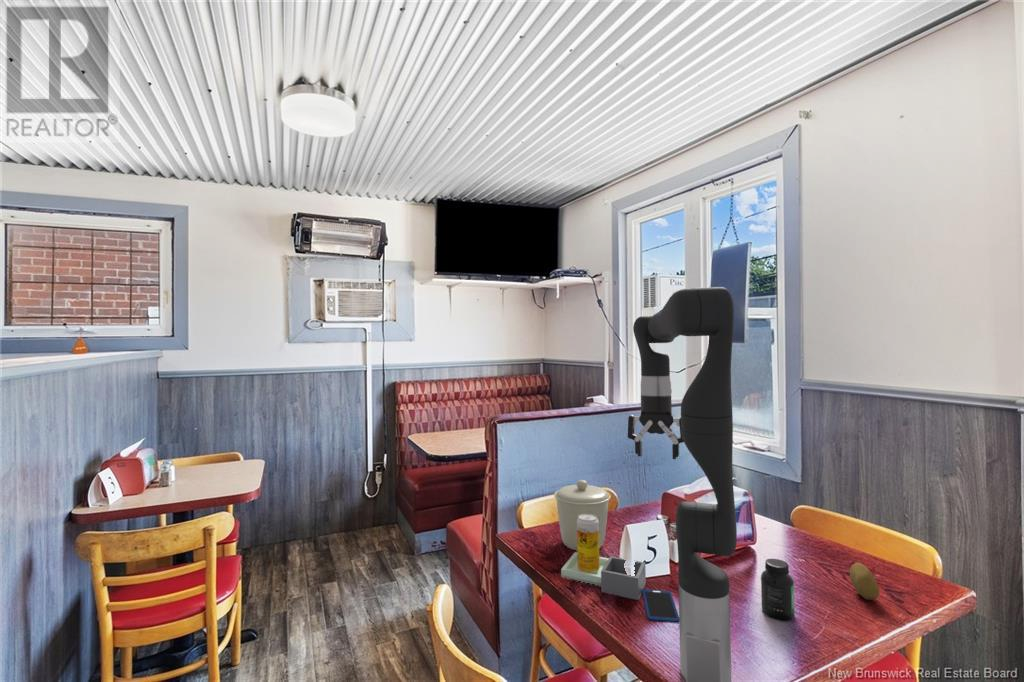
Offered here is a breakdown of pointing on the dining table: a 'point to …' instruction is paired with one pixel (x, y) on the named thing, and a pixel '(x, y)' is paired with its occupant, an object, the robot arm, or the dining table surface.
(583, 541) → the beer can
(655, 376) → the robot arm
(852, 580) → the potato
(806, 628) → the dining table surface
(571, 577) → the tray
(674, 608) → the cell phone
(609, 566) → the holder
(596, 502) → the canister
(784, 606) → the supplement bottle
